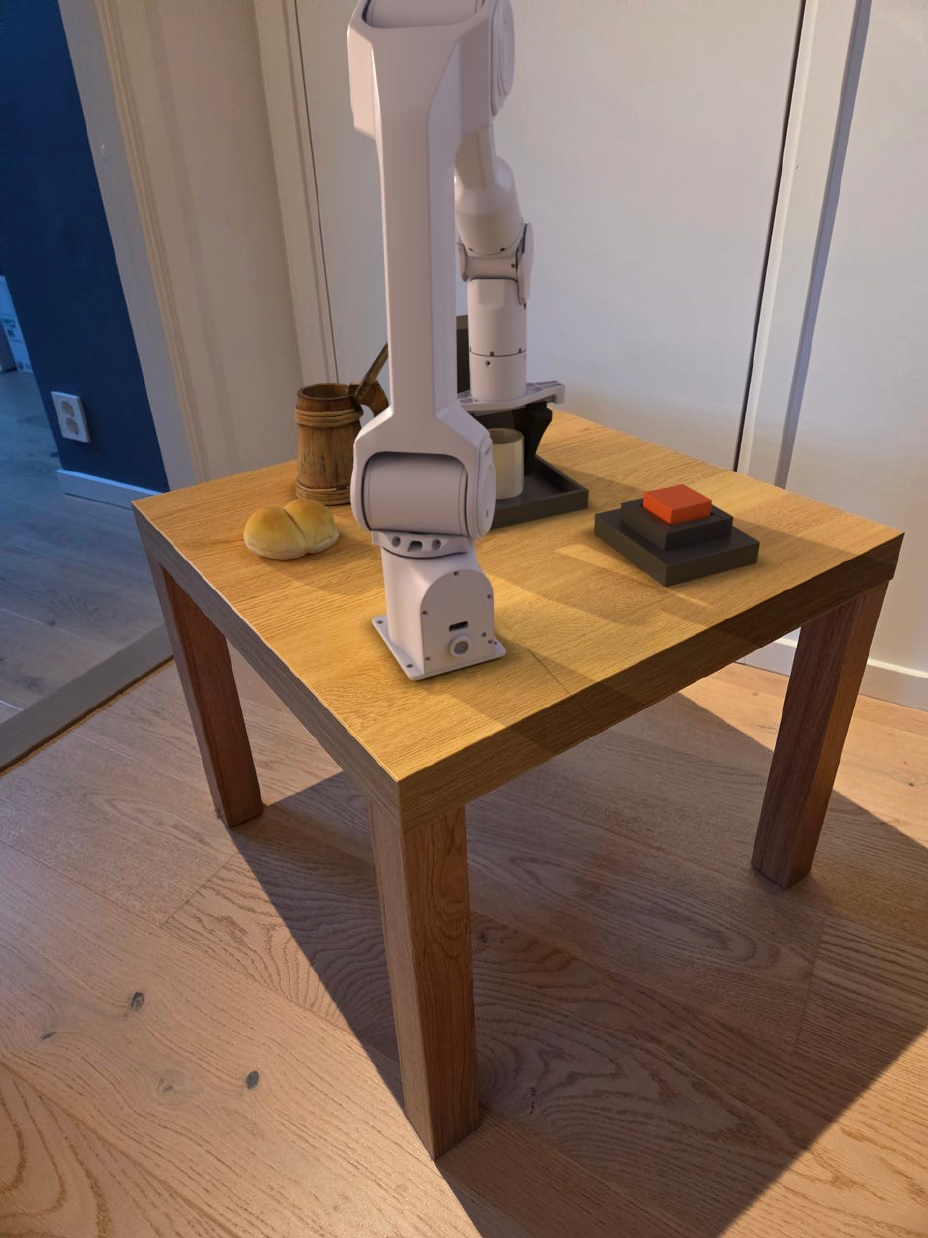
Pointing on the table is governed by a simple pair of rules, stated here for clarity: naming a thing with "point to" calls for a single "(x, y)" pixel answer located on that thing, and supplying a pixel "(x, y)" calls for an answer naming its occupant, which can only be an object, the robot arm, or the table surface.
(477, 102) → the robot arm
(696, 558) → the control block
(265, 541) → the bread roll
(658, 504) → the button
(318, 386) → the wooden mug
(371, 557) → the table surface
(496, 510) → the tray
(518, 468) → the cream cup
